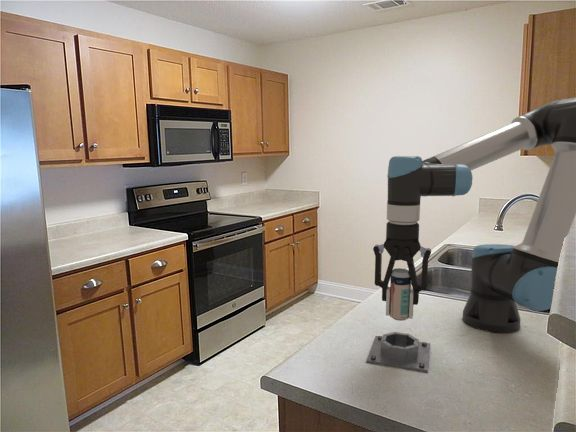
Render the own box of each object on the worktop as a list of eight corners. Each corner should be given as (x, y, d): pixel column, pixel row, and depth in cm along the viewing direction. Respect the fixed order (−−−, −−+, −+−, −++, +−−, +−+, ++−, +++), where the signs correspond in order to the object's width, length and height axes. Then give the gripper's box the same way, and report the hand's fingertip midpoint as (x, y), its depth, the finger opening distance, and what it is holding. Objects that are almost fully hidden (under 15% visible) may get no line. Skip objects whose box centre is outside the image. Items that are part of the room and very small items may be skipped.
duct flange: (430, 345, 106) (430, 332, 106) (427, 372, 94) (428, 358, 93) (375, 337, 111) (375, 325, 111) (366, 362, 99) (366, 348, 98)
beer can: (394, 312, 104) (396, 266, 102) (412, 317, 101) (414, 270, 99) (386, 318, 101) (387, 271, 99) (404, 323, 98) (406, 274, 96)
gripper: (443, 221, 98) (438, 314, 101) (368, 217, 104) (366, 305, 107) (442, 226, 91) (437, 326, 94) (362, 222, 97) (360, 315, 101)
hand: (399, 314), depth 101 cm, fingers closed on beer can, 5 cm apart
